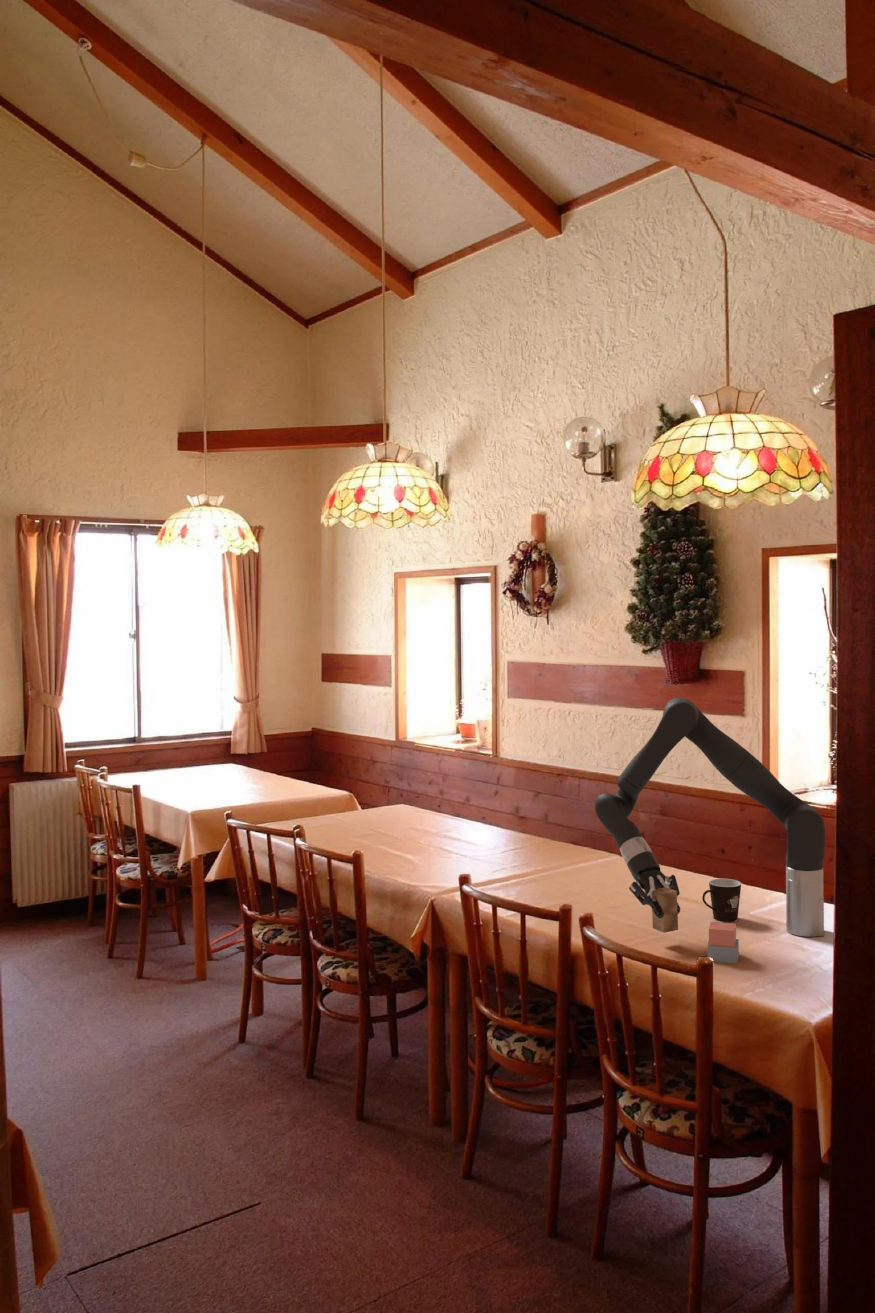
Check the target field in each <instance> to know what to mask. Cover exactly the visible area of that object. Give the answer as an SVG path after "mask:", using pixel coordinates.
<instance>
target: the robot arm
mask: <svg viewBox="0 0 875 1313" xmlns="http://www.w3.org/2000/svg"><path fill="white" fill-rule="evenodd" d="M662 711H663V712H662V717H661V719H660V720H659V723H658V725H657V727H656V729H655V731H654V732H653V733H652V735H651V737H650V738H649V740H648V741H647V742H646V743H645V744H644V745H643V747H642V748H640V750H639V751H638V752H637V753H636V755H635V756H634V757H633V758H632V759H631V760H630V762H629V763H628V764H627V766H626V767H625V768H624V769H623V771H622V772H621V774H620V775H619V777H618V778H617V780H616V784H617V786H618V788H619V789H618V790H617V793H616V794H615V795H614V794H612V793H605V792H604V793H602V794H600V795H598V796H597V797H596V798H595V801H594V810H595V813H596V816H597V818H598V819H599V821H600V822H601V823H602V825H603V826H604V828H605V829H606V830H607V831H608V833H609V834H610V835H611V836H612V837H613V840H614V842H615V844H616V845H617V847H618V850H619V851H620V853H621V857H622V859H623V861H624V862H625V865H626V866H627V869H628V870H629V872H630V874H631V876H632V878H633V879H634V880H635V881H632V883H631V884H630V885H629V888H628V889H629V890H630V892H631V893H632V895H634V897H635V898H636V899H637V900H638V902H640V903H641V905H642V906H646V905H648V906H649V907H650V908H651V911H652V910H653V912H654V914H655V915H656V916H657V917H658V918H662V917H663V916H664V912H663V911H662V909H661V907H660V905H659V903H658V902H656V897H655V895H654V891H653V890H655V889H658V888H663V887H664V888H670V889H673V890H675V891H677V897H678V896H679V895H680V893H681V892H680V888H679V885H678V882H677V878H676V876H675V875H674V874H671V875H670V876H668V875H665V874H664V873H663V872H662V871H661V866H660V864H659V862H658V860H657V858H656V857H655V855H654V853H653V851H652V849H651V847H650V845H649V844H648V843H647V841H646V840H645V839H644V837H643V834H642V833H641V831H640V829H639V828H638V826H637V825H636V823H635V822H633V821H632V820H630V819H629V818H628V817H629V816H630V815H631V814H632V812H633V810H634V807H635V805H636V803H637V801H638V798H639V796H640V793H641V792H642V791H643V790H644V788H645V787H646V786H647V784H648V783H649V782H650V780H651V779H652V777H653V776H654V774H655V773H656V772H657V770H658V769H659V768H660V766H661V765H662V763H663V761H664V760H665V759H666V757H667V756H668V755H669V754H670V752H671V751H673V749H674V748H675V747H676V746H677V745H678V744H679V743H680V742H681V741H682V740H683V739H684V738H686V739H687V740H689V741H690V742H691V743H692V744H694V745H695V746H696V747H698V749H699V750H700V751H701V752H702V754H703V755H704V756H705V757H706V758H707V759H708V761H709V762H710V763H711V764H712V765H713V767H714V768H715V769H716V770H717V771H718V772H719V773H720V774H721V775H722V776H723V777H724V779H726V780H728V782H729V783H731V784H732V785H733V786H734V787H735V788H737V789H738V790H739V791H741V792H742V794H745V795H746V796H747V797H749V798H751V799H752V800H754V801H756V802H758V803H759V804H761V806H764V807H765V808H766V809H767V810H768V811H769V813H770V812H771V814H772V815H773V816H774V817H775V818H776V819H777V820H778V821H779V822H780V823H781V825H783V827H784V828H785V830H786V832H787V834H786V836H787V837H786V842H787V843H786V844H787V846H786V847H787V849H786V856H785V893H786V894H785V900H786V901H785V904H786V905H785V906H786V907H785V908H786V909H785V910H786V912H785V914H786V916H785V917H786V920H785V921H786V922H785V925H786V932H788V933H790V934H792V935H795V936H798V937H800V936H801V937H808V938H809V937H811V938H812V937H825V910H824V909H825V908H824V907H825V904H824V903H825V901H824V861H825V856H826V855H825V854H826V852H825V851H826V850H825V849H826V846H825V845H826V837H825V836H826V828H825V827H826V825H825V821H824V818H823V817H822V815H821V814H820V813H819V812H818V811H817V809H815V807H813V806H811V805H810V804H809V803H806V802H805V801H803V800H802V799H801V798H799V797H798V796H796V795H795V794H794V793H792V791H790V790H789V789H787V788H786V787H785V786H784V785H783V784H781V782H780V781H779V780H778V779H777V778H776V776H774V774H773V773H772V772H771V771H770V770H769V769H768V768H767V767H766V766H765V765H764V764H763V763H762V762H761V761H760V760H759V759H758V758H757V757H755V756H754V755H753V754H752V753H751V752H749V751H748V749H745V747H743V746H742V745H741V744H740V743H738V742H737V741H735V740H734V739H733V738H732V737H730V736H729V735H727V734H726V733H725V732H723V731H722V730H720V729H719V728H718V727H717V726H715V724H714V723H712V722H711V721H710V719H709V718H707V717H706V715H704V713H703V712H702V711H701V710H700V709H699V708H698V707H697V705H696V704H695V703H694V702H693V701H691V700H690V699H688V698H684V697H675V698H673V699H671V700H669V701H668V702H667V703H666V704H665V706H664V709H663V710H662ZM677 913H678V915H679V914H680V913H681V907H680V905H679V903H678V902H677Z"/></svg>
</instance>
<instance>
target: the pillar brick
mask: <svg viewBox="0 0 875 1313" xmlns="http://www.w3.org/2000/svg"><path fill="white" fill-rule="evenodd" d="M653 891H654V895H655V897H656V902H658V903H659V905H660V907H661V909H662V911H663V912H664V916H663V917H662V918H658V917H657V916H656V915H655V914H654V912H653V910H652V909H651V914H652V916H651V917H652V929H654V930H656V931H659V932H661V933H663V934H665V933H669V932H675V931H678V930H679V920H678V918H679V914H678V913H677V903H678V896H677V891H675V890H673V889H670V888H664V887H663V888H658V889H655V890H653Z"/></svg>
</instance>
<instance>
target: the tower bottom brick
mask: <svg viewBox="0 0 875 1313" xmlns="http://www.w3.org/2000/svg"><path fill="white" fill-rule="evenodd" d="M706 948H707V951H706V952H707V955H706V956H707V958H708V957H711V958H713V960H714V961H715V963H716V962H717V963H727V964H739V956H740V955H739V954H740V941H739V938H736V943H735V947H724V946H713V945H709V940H708V941H707V946H706Z"/></svg>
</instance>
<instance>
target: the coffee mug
mask: <svg viewBox="0 0 875 1313" xmlns="http://www.w3.org/2000/svg"><path fill="white" fill-rule="evenodd" d="M708 884H709V886H708V887H709V889H707V890H705V891H704V892H703V893H702V902H703V904H704V905H705V906H706V907H708V908H709V909H711V910H712V911H711V912H712V917H713V920H715V921H716V922H721V921H723V922H722V923H735V922H737V921H738V920H739V919H738V918H739V910H740V909H739V908H740V907H739V906H740V900H741V892H742V890H741V889H742V882H741V881H739V880H737V879H732V878H731V879H730V878H713V879H710V880H709V881H708ZM708 893H709V894H710V902H711V905H710V904H708V903H707V901H706V899H705V898H706V895H707V894H708ZM736 920H737V921H736Z"/></svg>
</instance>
